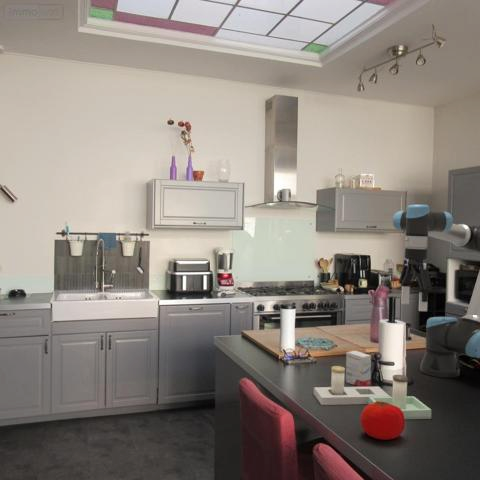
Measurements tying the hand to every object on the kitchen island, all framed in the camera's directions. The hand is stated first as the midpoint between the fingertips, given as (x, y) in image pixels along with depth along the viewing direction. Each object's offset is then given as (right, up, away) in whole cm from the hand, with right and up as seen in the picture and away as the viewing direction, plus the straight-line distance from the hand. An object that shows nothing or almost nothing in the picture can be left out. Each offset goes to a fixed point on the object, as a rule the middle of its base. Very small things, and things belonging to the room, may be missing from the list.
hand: (413, 307), depth 177 cm
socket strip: (-23, -31, -4) cm, 39 cm away
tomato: (-21, -33, -33) cm, 52 cm away
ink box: (-17, -31, +12) cm, 37 cm away
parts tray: (-10, -32, -15) cm, 37 cm away
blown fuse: (-10, -32, -15) cm, 36 cm away
